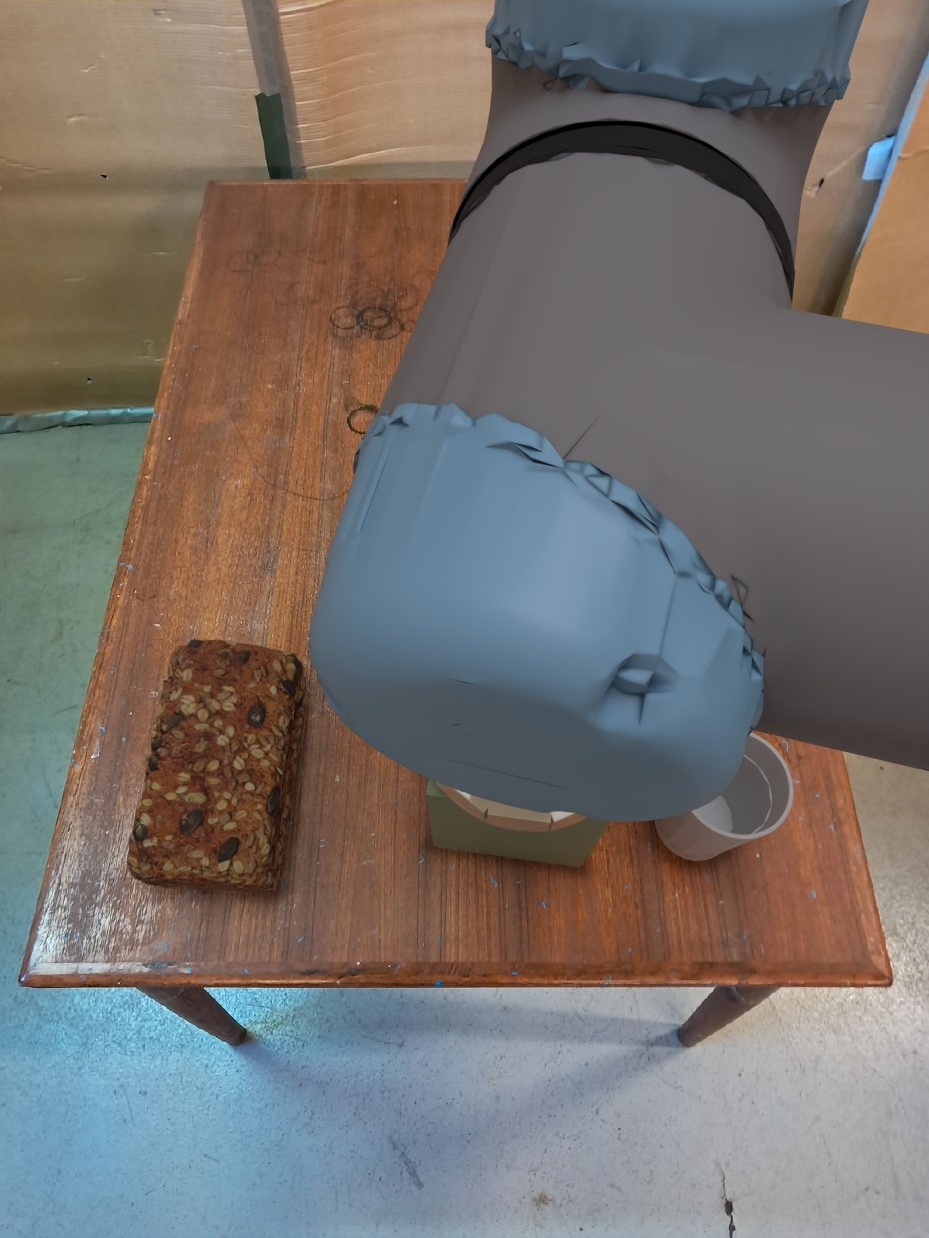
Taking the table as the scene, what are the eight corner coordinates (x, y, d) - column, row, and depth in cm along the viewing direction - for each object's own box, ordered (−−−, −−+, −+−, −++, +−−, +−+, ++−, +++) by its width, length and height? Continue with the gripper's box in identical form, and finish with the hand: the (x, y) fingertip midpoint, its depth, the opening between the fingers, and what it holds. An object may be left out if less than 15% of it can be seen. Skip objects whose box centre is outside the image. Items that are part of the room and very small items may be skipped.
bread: (201, 678, 74) (165, 628, 65) (318, 684, 73) (299, 635, 64) (153, 893, 65) (104, 870, 56) (286, 901, 65) (258, 880, 56)
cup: (741, 878, 66) (795, 847, 55) (641, 862, 66) (676, 828, 56) (741, 782, 69) (792, 736, 59) (647, 768, 70) (680, 719, 59)
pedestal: (579, 867, 66) (612, 820, 52) (433, 846, 67) (425, 794, 53) (590, 728, 71) (621, 650, 57) (454, 710, 72) (452, 629, 58)
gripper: (509, 249, 33) (491, 554, 54) (446, 632, 25) (453, 815, 46) (697, 268, 32) (605, 568, 53) (692, 663, 25) (587, 834, 45)
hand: (535, 682), depth 49 cm, fingers closed on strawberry, 4 cm apart
